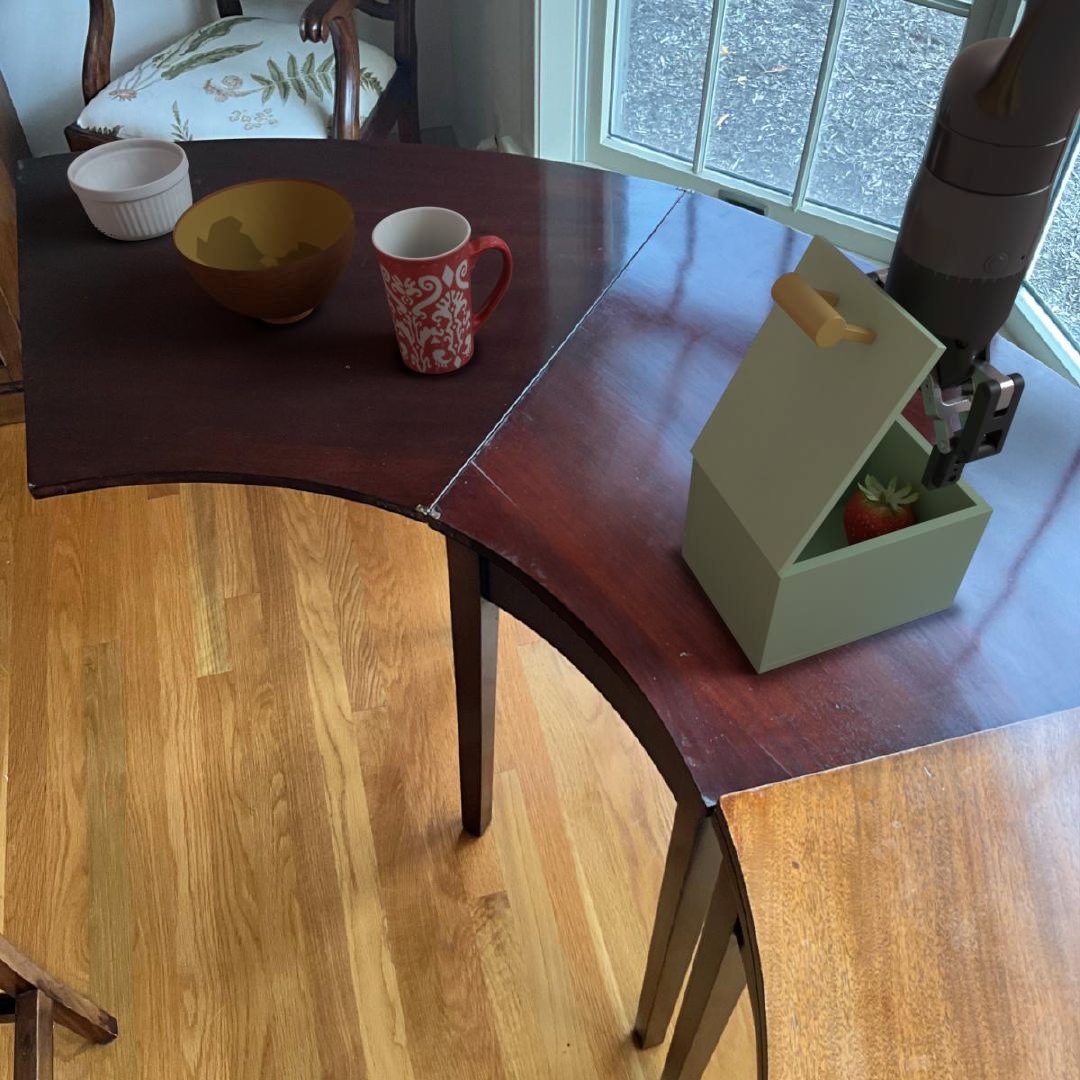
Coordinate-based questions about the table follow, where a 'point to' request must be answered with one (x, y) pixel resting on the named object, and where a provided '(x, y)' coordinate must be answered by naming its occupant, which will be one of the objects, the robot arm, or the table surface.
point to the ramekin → (133, 187)
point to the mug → (435, 285)
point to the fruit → (878, 510)
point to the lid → (811, 399)
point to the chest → (836, 562)
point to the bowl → (268, 246)
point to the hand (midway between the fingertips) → (899, 445)
